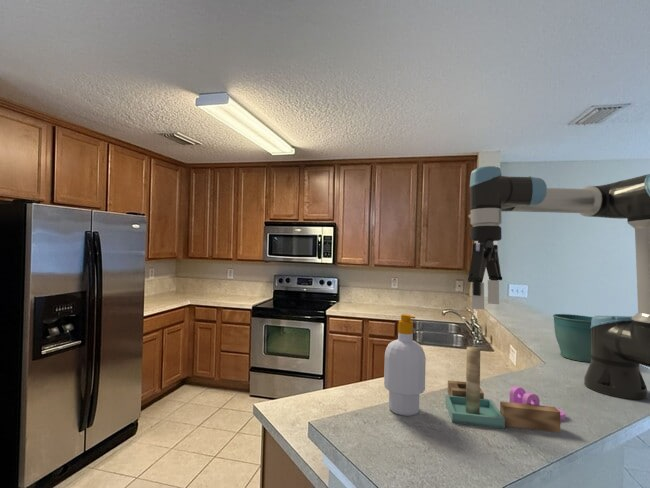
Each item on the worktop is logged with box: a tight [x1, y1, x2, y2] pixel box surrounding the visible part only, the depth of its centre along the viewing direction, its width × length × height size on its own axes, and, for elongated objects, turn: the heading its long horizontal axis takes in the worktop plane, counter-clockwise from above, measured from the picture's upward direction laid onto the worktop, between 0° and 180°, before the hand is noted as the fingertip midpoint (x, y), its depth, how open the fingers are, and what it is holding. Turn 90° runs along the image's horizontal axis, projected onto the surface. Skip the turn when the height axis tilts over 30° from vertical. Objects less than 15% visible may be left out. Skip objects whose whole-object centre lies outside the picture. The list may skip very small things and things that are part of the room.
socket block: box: [447, 380, 485, 399], centre depth 98 cm, size 8×8×4 cm
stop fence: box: [499, 401, 561, 433], centre depth 83 cm, size 12×3×4 cm, turn 79°
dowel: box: [465, 346, 481, 415], centre depth 88 cm, size 3×3×16 cm
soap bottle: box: [383, 313, 427, 417], centre depth 90 cm, size 10×10×24 cm
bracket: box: [509, 385, 566, 421], centre depth 89 cm, size 13×6×7 cm, turn 103°
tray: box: [444, 394, 506, 429], centre depth 88 cm, size 12×12×2 cm
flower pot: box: [552, 313, 594, 363], centre depth 146 cm, size 18×18×17 cm
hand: (486, 306), depth 92 cm, fingers open, 13 cm apart
